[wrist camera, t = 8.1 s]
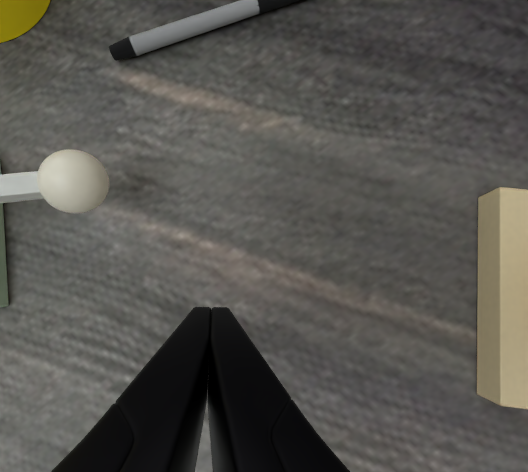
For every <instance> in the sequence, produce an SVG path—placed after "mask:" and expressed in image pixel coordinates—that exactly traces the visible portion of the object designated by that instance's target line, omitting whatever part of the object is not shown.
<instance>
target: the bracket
mask: <svg viewBox="0 0 528 472" xmlns="http://www.w3.org/2000/svg"><path fill="white" fill-rule="evenodd" d="M0 175H1V161H0ZM8 305H9V304H8V286H7V268H6V250H5V232H4V215H3V203H0V307H5V306H8Z"/></svg>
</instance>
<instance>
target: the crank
mask: <svg viewBox="0 0 528 472" xmlns="http://www.w3.org/2000/svg"><path fill="white" fill-rule="evenodd" d="M49 3H50V0H0V43H1V42H5V41H9V40H12V39H14V38H16V37H18V36H20V35H22V34H24V33H25V32H27V31H28V30H30V29H31V28H32V27H33V26H34V25H35V24H36V23H37V22H38V21H39V20H40V19H41V18H42V16H43V15H44V13H45V12H46V10H47V8H48V5H49Z"/></svg>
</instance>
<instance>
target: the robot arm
mask: <svg viewBox="0 0 528 472" xmlns="http://www.w3.org/2000/svg"><path fill="white" fill-rule="evenodd" d="M208 369H209V372H208ZM207 390H208V415H209V428H210V441H211V453H212V466H213V472H350V471H349V470H348V469H347V468H346V466H345V465H344V464H343V463H342V462H341V461H340V460H339V459H338V457H337V456H336V455H335V454H334V453H333V452H332V450H331V449H330V448H329V447H328V446H327V444H326V443H325V442H324V441H323V440H322V439H321V437H320V436H319V435H318V434H317V433H316V431H315V430H314V429H313V427H312V426H311V425H310V423H309V422H308V421H307V419H306V418H305V417H304V415H303V414H302V412H301V411H300V410H299V408H298V407H297V405H296V404H295V402H294V401H293V400H291V397H290V395H289V394H288V393H287V391H286V390H285V388H284V387H283V385H282V384H281V383H280V381H279V380H278V378H277V377H276V375H275V374H274V373H273V371H272V370H271V368H270V367H269V365H268V364H267V363H266V361H265V360H264V358H263V357H262V355H261V354H260V353H259V351H258V350H257V348H256V347H255V345H254V344H253V342H252V341H251V340H250V338H249V337H248V335H247V334H246V332H245V331H244V330H243V328H242V327H241V325H240V324H239V322H238V321H237V320H236V318H235V317H234V315H233V314H232V312H231V311H230V310H229V308H227V307H213V308H212V310H211V308H209V307H195V308H193V309H192V311H191V312H190V313H189V314H188V315H187V317H186V318H185V319H184V320H183V321H182V323H181V324H180V325H179V326H178V327H177V329H176V330H175V331H174V332H173V333H172V335H171V336H170V337H169V338H168V339H167V341H166V342H165V343H164V344H163V345H162V347H161V348H160V349H159V350H158V351H157V352H156V354H155V355H154V356H153V357H152V358H151V360H150V361H149V362H148V363H147V364H146V366H145V367H144V368H143V369H142V370H141V372H140V373H139V374H138V375H137V376H136V378H135V379H134V380H133V381H132V382H131V384H130V385H129V386H128V387H127V388H126V390H125V391H124V392H123V393H122V394H121V396H120V397H119V398H118V399H117V400H116V403H115V404H113V405H112V406H111V407H110V408H109V410H108V411H107V412H106V413H105V415H104V416H103V417H102V418H101V419H100V420H99V422H98V423H97V424H96V425H95V426H94V427H93V428H92V429H91V431H90V432H89V433H88V434H87V435H86V436H85V437H84V439H83V440H82V441H81V442H80V443H79V444H78V445H77V446H76V447H75V448H74V449H73V450H72V451H71V452H70V453H69V454H68V455H67V456H66V457H65V458H64V459H63V460H62V461H61V462H60V463H59V464H58V465H57V466H56V467H55V468H54V469H53V470H52V471H51V472H195V466H196V461H197V455H198V449H199V443H200V438H201V432H202V426H203V420H204V414H205V408H206V401H207Z"/></svg>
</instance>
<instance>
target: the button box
mask: <svg viewBox="0 0 528 472" xmlns="http://www.w3.org/2000/svg"><path fill="white" fill-rule="evenodd" d="M477 395H479V396H482V397H484V398H486V399H488V400H490V401H492V402H494V403H496V404H498V405H500V406H505V407H513V408H521V409H528V190H524V189H514V188H504V187H499V188H497V189H495V190H493V191H491V192H489V193H487V194H485V195H483V196H481V197H479V198H478V297H477Z"/></svg>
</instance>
